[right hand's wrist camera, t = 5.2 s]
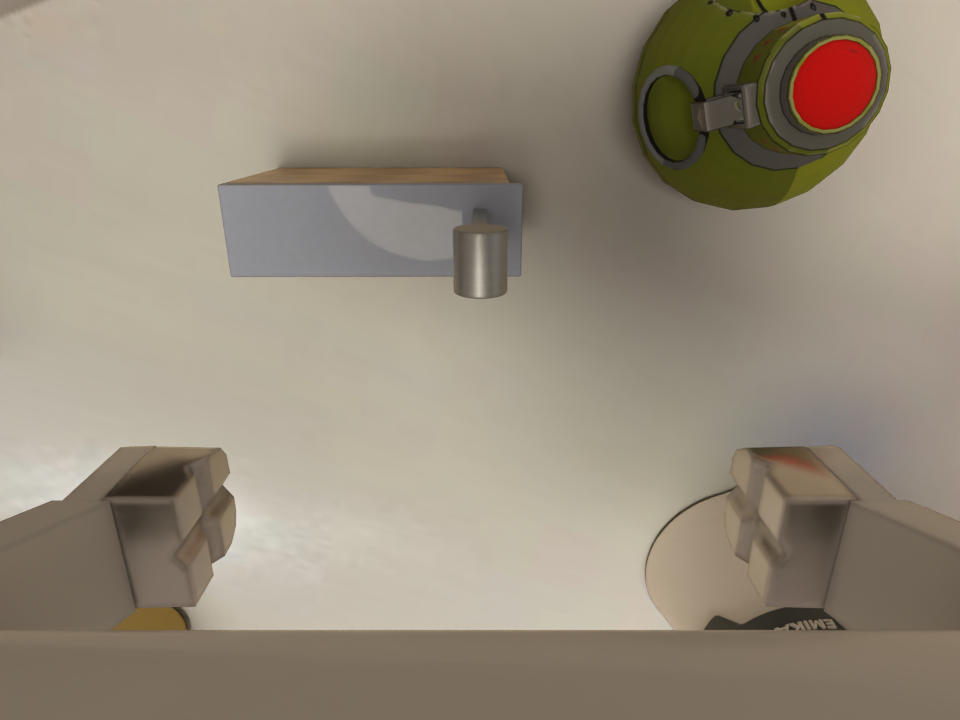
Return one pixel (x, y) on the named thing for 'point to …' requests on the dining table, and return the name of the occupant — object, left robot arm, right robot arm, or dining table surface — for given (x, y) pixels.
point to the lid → (376, 231)
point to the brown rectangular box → (378, 175)
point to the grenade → (757, 95)
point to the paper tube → (153, 620)
